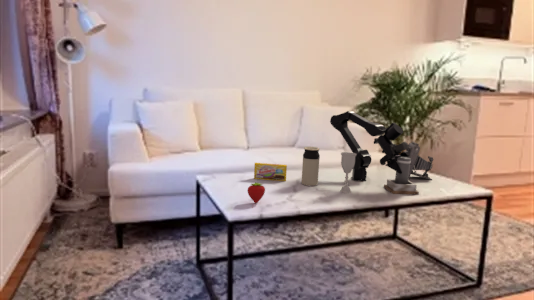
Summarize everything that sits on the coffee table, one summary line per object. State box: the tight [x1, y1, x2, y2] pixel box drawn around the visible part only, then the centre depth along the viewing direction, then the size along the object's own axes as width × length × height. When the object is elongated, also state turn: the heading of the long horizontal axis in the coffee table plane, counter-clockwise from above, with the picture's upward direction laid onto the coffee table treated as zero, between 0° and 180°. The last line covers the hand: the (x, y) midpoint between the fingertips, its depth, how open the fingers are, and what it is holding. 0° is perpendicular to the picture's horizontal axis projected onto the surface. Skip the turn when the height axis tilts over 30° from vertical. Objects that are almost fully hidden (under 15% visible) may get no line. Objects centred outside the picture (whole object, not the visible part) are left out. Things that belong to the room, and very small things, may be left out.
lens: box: [394, 157, 411, 184], centre depth 205 cm, size 6×6×14 cm
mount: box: [383, 178, 420, 195], centre depth 206 cm, size 12×12×4 cm
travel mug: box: [301, 146, 320, 187], centre depth 209 cm, size 8×8×18 cm
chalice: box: [339, 151, 357, 194], centre depth 199 cm, size 7×7×18 cm
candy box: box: [253, 162, 288, 182], centre depth 216 cm, size 16×2×8 cm, turn 83°
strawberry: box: [247, 179, 266, 204], centre depth 176 cm, size 6×8×10 cm
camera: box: [405, 140, 434, 181], centre depth 234 cm, size 11×17×20 cm, turn 86°
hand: (404, 172), depth 204 cm, fingers closed on lens, 6 cm apart
